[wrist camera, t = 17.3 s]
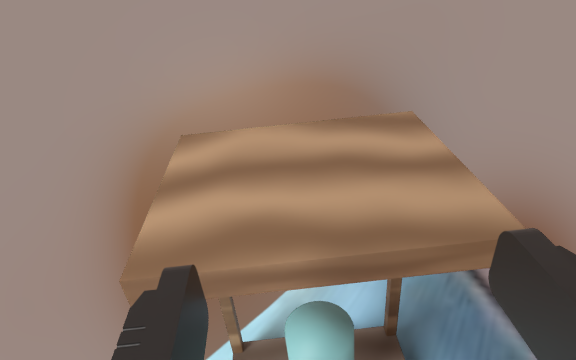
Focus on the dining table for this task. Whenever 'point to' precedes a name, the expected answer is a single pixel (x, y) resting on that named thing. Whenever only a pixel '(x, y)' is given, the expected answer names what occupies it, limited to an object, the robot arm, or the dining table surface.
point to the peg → (319, 333)
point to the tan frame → (316, 217)
